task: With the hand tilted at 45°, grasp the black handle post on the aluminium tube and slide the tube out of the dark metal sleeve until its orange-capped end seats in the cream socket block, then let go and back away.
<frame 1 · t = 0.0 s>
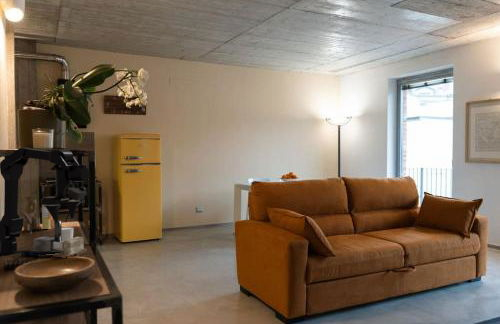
hand: (64, 220, 164), 15 cm above the table, tool pointing down, fingers open, 9 cm apart
base: (55, 253, 171), on the table
candy box: (50, 229, 229), on the table
shot glass: (65, 243, 190), on the table
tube: (51, 234, 171), point 8 cm above the table, slide at 0.0 cm
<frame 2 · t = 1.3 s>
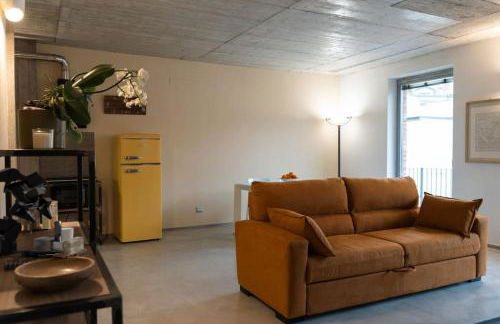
hand: (43, 220, 172), 14 cm above the table, tool tilted 45°, fingers open, 9 cm apart
nothing on the table moved.
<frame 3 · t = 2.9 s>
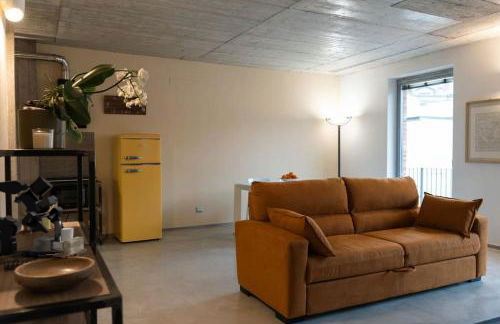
hand: (55, 230, 171), 10 cm above the table, tool tilted 45°, fingers open, 9 cm apart
nothing on the table moved.
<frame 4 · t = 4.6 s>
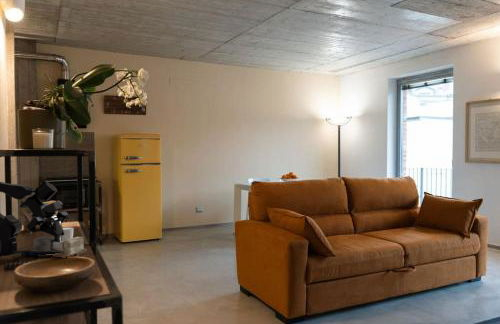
hand: (60, 235, 170), 8 cm above the table, tool tilted 45°, fingers closed on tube, 3 cm apart
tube: (51, 234, 171), point 8 cm above the table, slide at 0.0 cm, touching gripper
everything else where it was.
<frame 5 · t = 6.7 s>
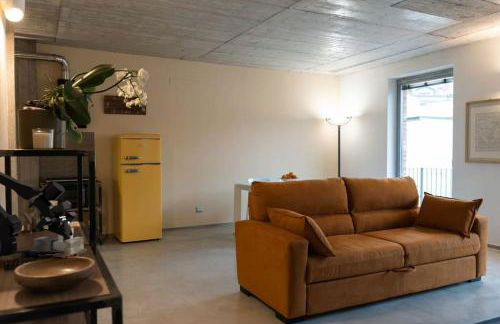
hand: (69, 236, 169), 8 cm above the table, tool tilted 45°, fingers closed on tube, 3 cm apart
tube: (59, 234, 170), point 8 cm above the table, slide at 4.2 cm, touching gripper
everything else where it was.
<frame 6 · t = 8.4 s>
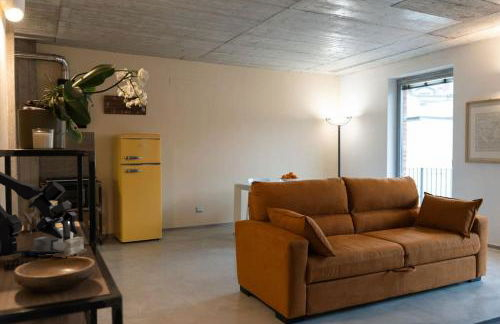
hand: (69, 236, 169), 8 cm above the table, tool tilted 45°, fingers open, 9 cm apart
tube: (59, 234, 170), point 8 cm above the table, slide at 4.2 cm
everything else where it was.
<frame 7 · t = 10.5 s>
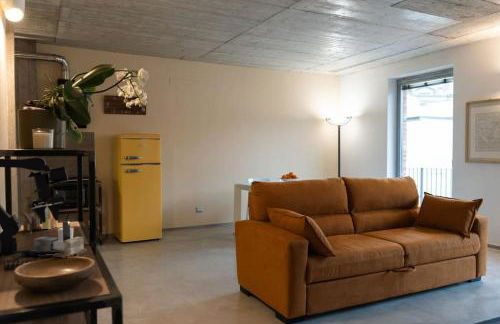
hand: (50, 221, 176), 12 cm above the table, tool pointing down, fingers open, 9 cm apart
nothing on the table moved.
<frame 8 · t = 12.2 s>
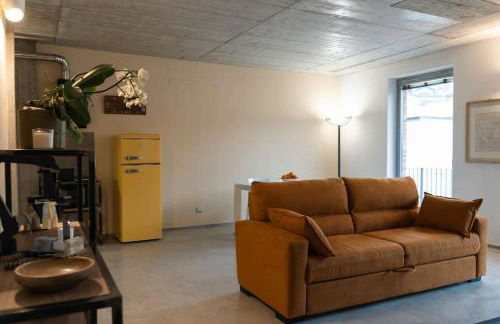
hand: (50, 219, 178), 13 cm above the table, tool pointing down, fingers open, 9 cm apart
nothing on the table moved.
at the end: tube slide at 4.2 cm; the gripper is holding nothing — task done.
